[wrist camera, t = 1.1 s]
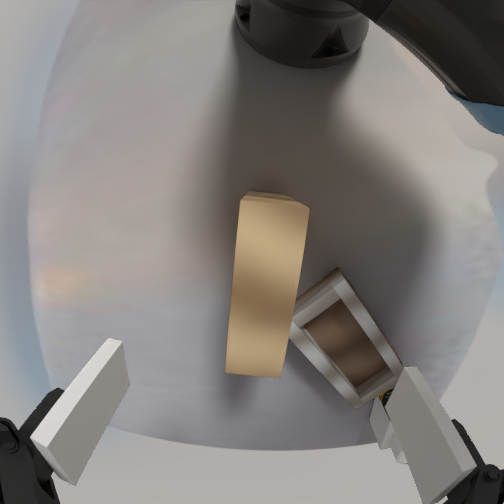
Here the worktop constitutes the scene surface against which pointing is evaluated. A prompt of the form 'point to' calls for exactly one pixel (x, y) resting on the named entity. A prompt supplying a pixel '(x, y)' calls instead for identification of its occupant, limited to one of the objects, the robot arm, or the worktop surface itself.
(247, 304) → the door slab
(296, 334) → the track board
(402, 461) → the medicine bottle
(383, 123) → the worktop surface
